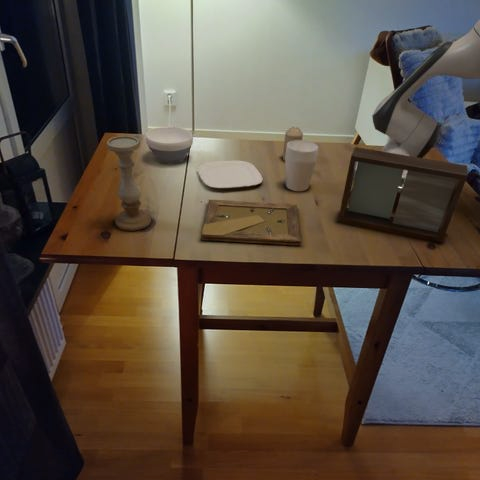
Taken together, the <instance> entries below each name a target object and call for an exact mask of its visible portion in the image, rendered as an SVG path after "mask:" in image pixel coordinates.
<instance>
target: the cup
mask: <svg viewBox="0 0 480 480" xmlns="http://www.w3.org/2000/svg"><path fill="white" fill-rule="evenodd" d="M318 152H319V145H318V144H316V143H315V142H312V141H311V140H310V141H309V140H306V139H305V140H304V139H302V140H294V141H290V142H288V143H287V148H286V153H285V161H284V162H285V163H284V164H285V186H286V188H287V189H289V190H290V191H294V192H304V191H306V190H308V189H309V187H310V185H311V180H312V177H313V174H314V169H315V167H316V164H317V160H318V154H319V153H318Z"/></svg>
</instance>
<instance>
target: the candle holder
mask: <svg viewBox="0 0 480 480" xmlns="http://www.w3.org/2000/svg"><path fill="white" fill-rule="evenodd" d="M141 145H142V144H141V141H140V139H139V138H137V137H135V136H131V135H119V136H114V137H110V138H109V139H107V140H106V142H105V147H106V149H108V150H109V151H111V152H114V153H115V155H116V156H118V162H117V167H119V168H120V183H119V185H118V189H117V194H118V198H119V199H120V201H121V203H120V206H121V208H123V210H122V211H121V212H120V213H119V214H118V215H116V217H115V219H114V223H115V225H116V227H117V228H119V229H120V230H123V231H130V232H133V231H140V230H143V229H146V228H147V227H148V226H150V225H151V223H152V217H151V216H150V214H149V213H147V212H145V211H144V210H143V209H140V207H141V206H142V202H141V201H140V199H141V196H142V190H141V188H140V186H139V184H138V182H137V181H136V179H135V175H134V166H135V162H134V161H133V160H132V156H133V154H134V152H135V151H136V150H138V149H140V148H141Z"/></svg>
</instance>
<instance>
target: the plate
mask: <svg viewBox="0 0 480 480" xmlns="http://www.w3.org/2000/svg"><path fill="white" fill-rule="evenodd" d="M196 169H197V173H198V176H199V177H200V180H201V181H202V183H203V184H204V185H205V186H207V187H209V188H211V189H216V190H217V189H218V190H226V189H228V190H229V189H239V188H240V189H241V188H249V187H250V188H251V187H254V186H255V187H256V186H258V185H261V184H262V182H263V180H264V178H263V176H262V174H261V173H260V171H259V170H258V168H257V167H256V166H255V165H254V164H253V163H251V162H249V161H246V160H221V161H219V160H218V161H211V162H205V163H202V164H199V166H197V168H196Z"/></svg>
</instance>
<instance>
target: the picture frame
mask: <svg viewBox="0 0 480 480" xmlns="http://www.w3.org/2000/svg"><path fill="white" fill-rule="evenodd" d="M201 240H202V241H212V242H213V241H215V242H231V243H233V242H234V243H249V244H250V243H251V244H266V245H267V244H268V245H269V244H270V245H284V246H301V242H302V239H301V230H300V221H299V211H298V204H296V203H281V202H280V203H279V202H264V201H263V202H260V201H245V200H243V201H242V200H225V199H208V201H207V206H206V213H205V217H204V223H203V228H202V233H201Z"/></svg>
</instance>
